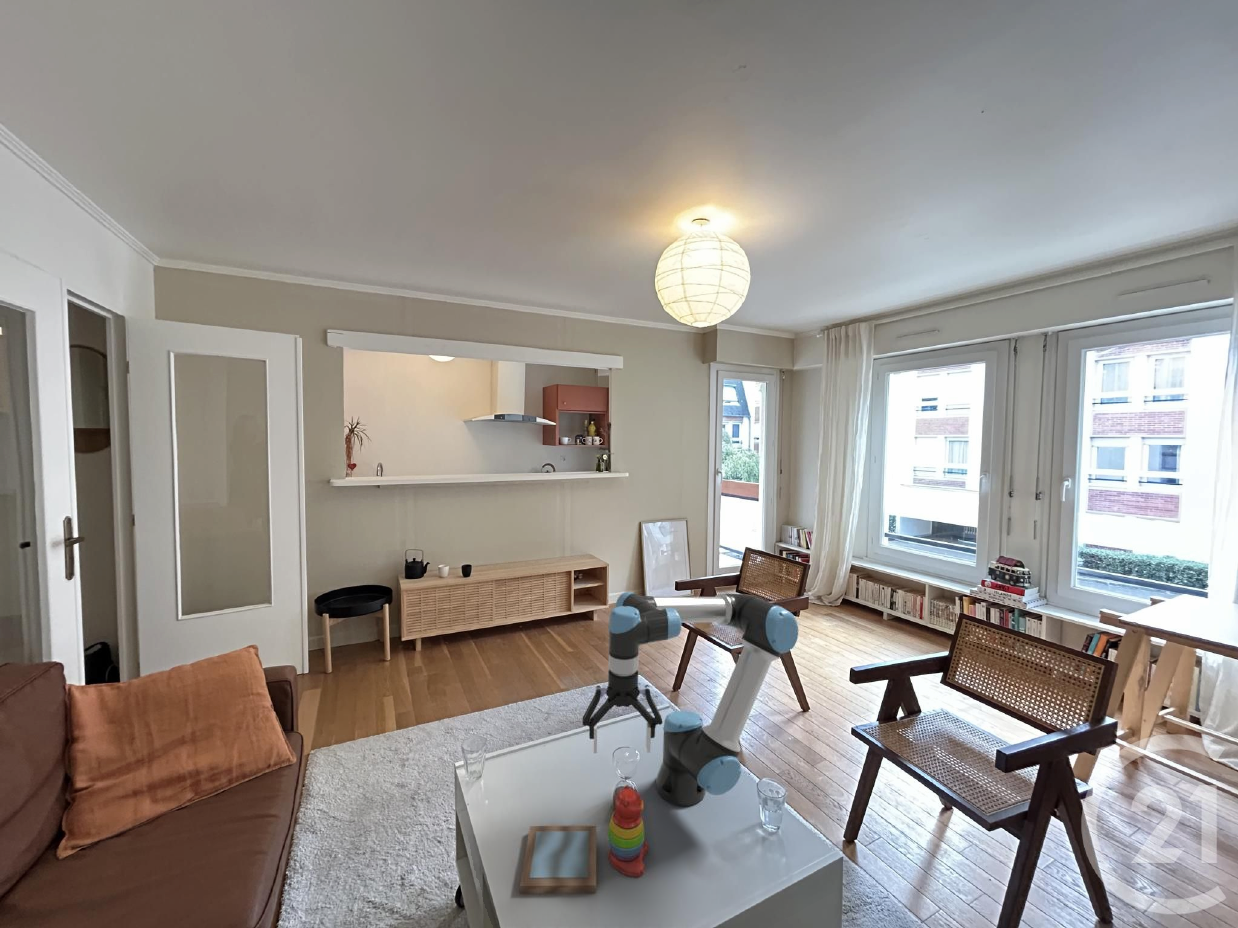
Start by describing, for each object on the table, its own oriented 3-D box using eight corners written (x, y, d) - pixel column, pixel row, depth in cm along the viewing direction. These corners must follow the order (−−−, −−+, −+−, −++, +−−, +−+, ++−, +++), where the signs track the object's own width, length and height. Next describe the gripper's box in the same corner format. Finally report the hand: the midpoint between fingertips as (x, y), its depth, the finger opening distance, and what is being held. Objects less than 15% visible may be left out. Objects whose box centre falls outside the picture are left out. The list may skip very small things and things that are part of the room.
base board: (596, 832, 139) (596, 824, 139) (595, 892, 121) (596, 884, 121) (530, 832, 138) (530, 825, 138) (519, 893, 120) (519, 885, 120)
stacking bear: (643, 879, 125) (645, 810, 124) (603, 870, 127) (604, 803, 126) (649, 844, 136) (651, 780, 134) (612, 837, 138) (614, 774, 136)
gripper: (670, 662, 133) (668, 739, 134) (574, 662, 131) (573, 740, 133) (674, 676, 125) (672, 758, 127) (573, 677, 124) (572, 759, 126)
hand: (621, 749), depth 130 cm, fingers open, 13 cm apart
